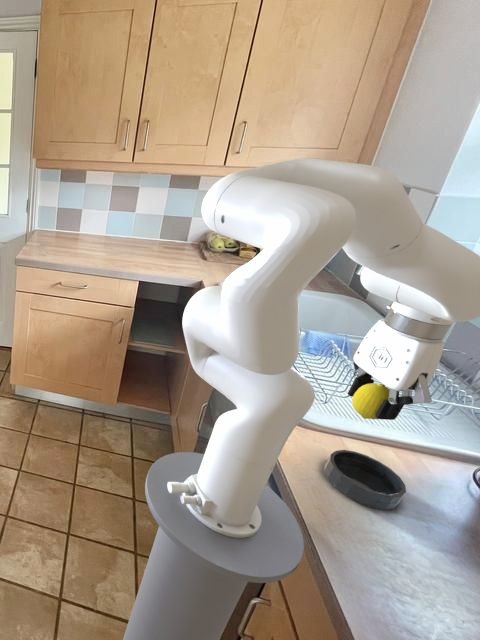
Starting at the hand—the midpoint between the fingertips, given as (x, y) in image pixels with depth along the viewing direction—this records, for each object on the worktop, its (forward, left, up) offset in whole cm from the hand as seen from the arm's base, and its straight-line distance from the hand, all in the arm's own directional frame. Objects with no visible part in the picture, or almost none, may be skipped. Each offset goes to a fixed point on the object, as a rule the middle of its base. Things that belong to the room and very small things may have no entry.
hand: (370, 406), depth 79 cm
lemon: (0, 0, -3) cm, 3 cm away
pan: (+2, -3, -17) cm, 17 cm away
